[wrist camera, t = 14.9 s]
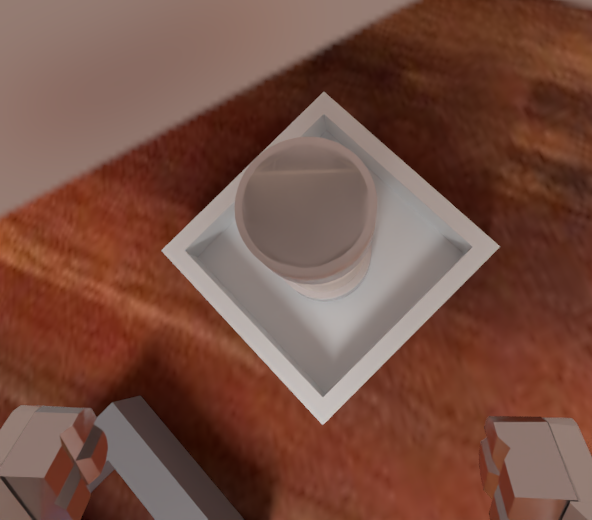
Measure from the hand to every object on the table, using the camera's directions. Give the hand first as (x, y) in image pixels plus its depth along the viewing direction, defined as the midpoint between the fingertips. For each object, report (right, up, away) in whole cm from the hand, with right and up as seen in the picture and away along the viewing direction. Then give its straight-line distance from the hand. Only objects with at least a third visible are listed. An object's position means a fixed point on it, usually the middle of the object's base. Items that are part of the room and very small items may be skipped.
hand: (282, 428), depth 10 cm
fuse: (+2, +4, +11) cm, 11 cm away
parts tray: (+2, +4, +11) cm, 12 cm away
